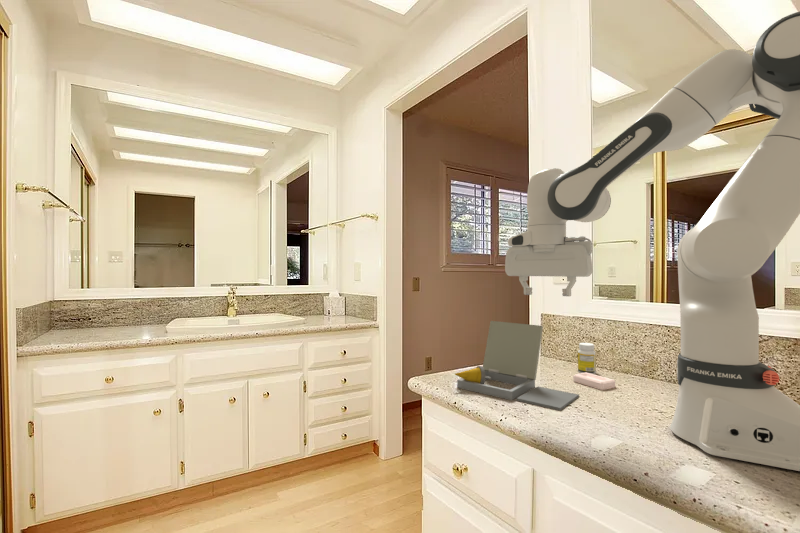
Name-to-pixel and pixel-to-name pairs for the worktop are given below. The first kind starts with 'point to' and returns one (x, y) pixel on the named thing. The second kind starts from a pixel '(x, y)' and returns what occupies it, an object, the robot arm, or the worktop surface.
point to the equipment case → (509, 359)
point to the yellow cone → (474, 375)
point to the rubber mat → (548, 398)
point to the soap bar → (594, 381)
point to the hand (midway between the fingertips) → (546, 295)
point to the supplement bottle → (586, 358)
